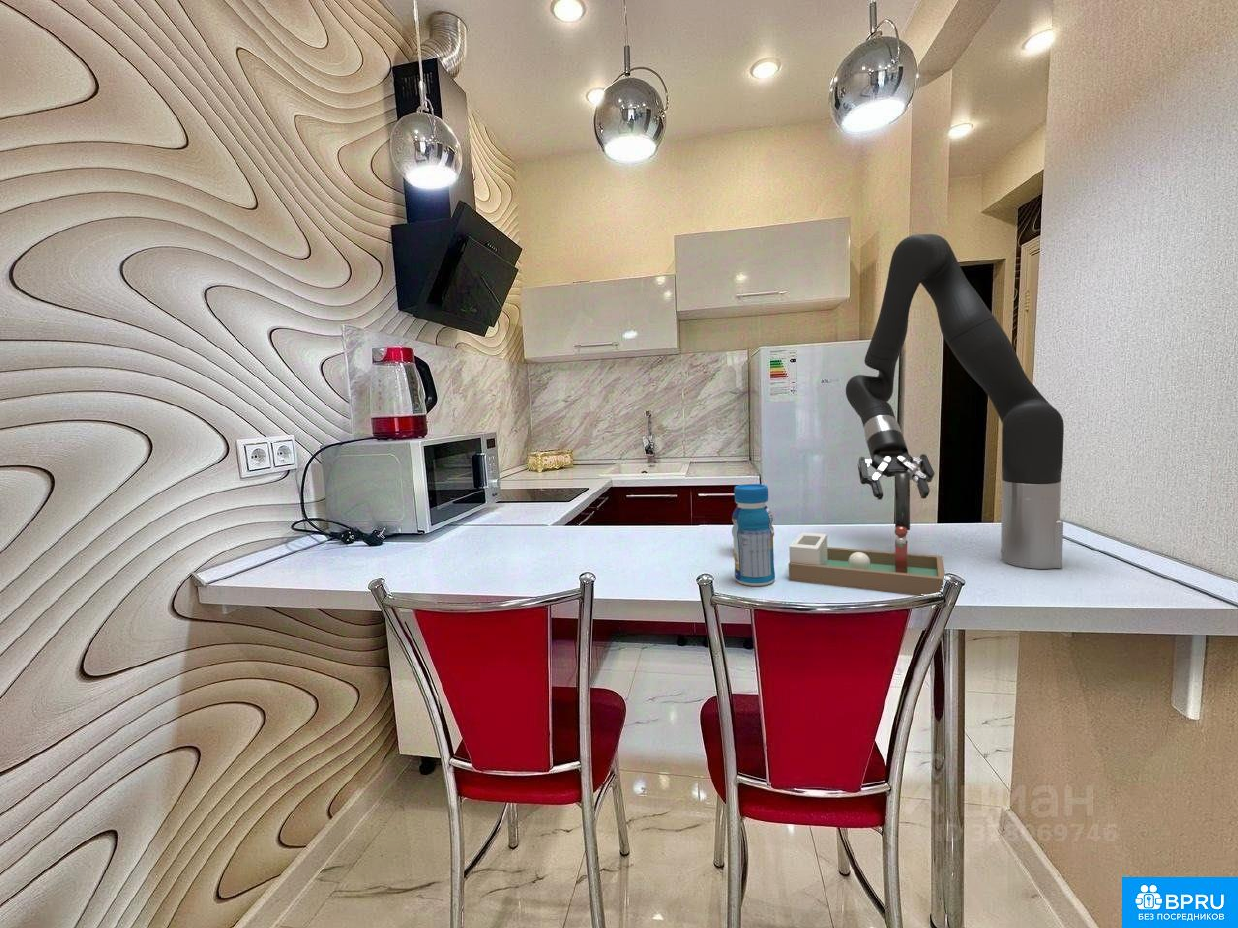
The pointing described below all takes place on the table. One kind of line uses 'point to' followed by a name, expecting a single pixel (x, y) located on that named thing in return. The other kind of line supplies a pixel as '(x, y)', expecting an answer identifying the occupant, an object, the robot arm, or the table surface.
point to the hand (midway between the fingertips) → (902, 497)
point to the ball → (859, 561)
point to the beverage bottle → (753, 536)
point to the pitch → (833, 569)
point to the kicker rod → (901, 519)
